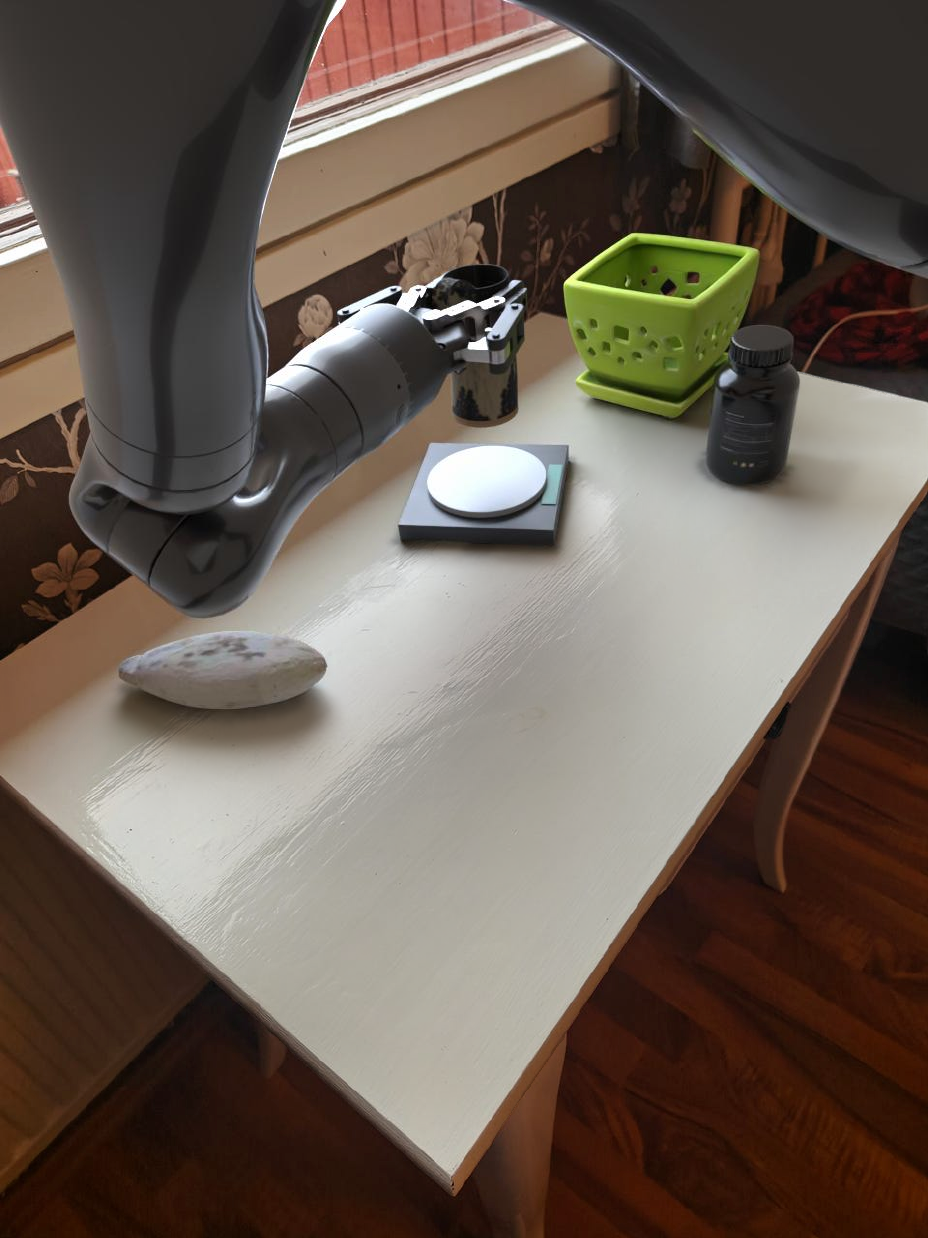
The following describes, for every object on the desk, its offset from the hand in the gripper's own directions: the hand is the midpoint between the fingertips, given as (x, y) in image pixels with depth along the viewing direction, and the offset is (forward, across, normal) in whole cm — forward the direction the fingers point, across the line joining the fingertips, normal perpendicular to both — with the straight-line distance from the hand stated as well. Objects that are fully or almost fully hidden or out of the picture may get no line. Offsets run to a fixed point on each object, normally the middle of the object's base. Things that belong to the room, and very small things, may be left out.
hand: (486, 288), depth 66 cm
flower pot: (+21, -6, +18) cm, 28 cm away
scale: (-2, 0, +18) cm, 18 cm away
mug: (-3, 0, +10) cm, 10 cm away
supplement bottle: (+11, -19, +18) cm, 28 cm away
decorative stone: (-30, +6, +18) cm, 35 cm away
